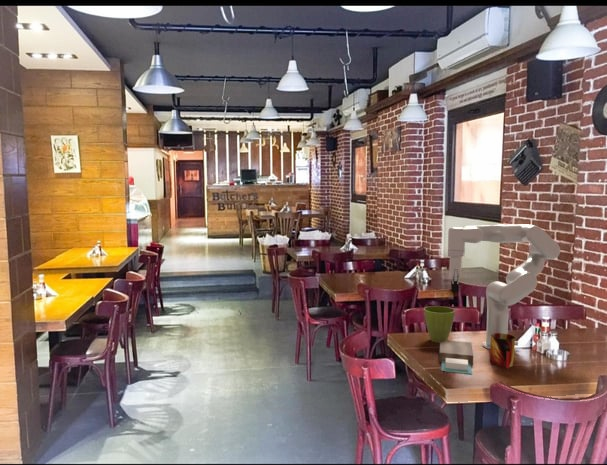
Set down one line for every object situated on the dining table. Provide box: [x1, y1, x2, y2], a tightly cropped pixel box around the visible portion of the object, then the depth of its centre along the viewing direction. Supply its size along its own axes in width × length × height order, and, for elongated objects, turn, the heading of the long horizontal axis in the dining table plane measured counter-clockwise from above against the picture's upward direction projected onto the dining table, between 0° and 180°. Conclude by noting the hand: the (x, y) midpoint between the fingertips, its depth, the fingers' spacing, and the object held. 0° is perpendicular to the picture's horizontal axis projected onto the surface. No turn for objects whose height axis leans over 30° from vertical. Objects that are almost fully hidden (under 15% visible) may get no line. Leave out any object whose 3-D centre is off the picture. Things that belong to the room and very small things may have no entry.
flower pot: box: [423, 305, 456, 344], centre depth 248 cm, size 15×15×16 cm
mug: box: [489, 333, 516, 369], centre depth 214 cm, size 10×14×12 cm
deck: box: [438, 339, 474, 366], centre depth 225 cm, size 14×20×4 cm
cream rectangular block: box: [445, 358, 468, 370], centre depth 210 cm, size 9×6×2 cm, turn 74°
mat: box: [440, 361, 473, 375], centre depth 210 cm, size 12×12×1 cm
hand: (455, 292), depth 235 cm, fingers closed
